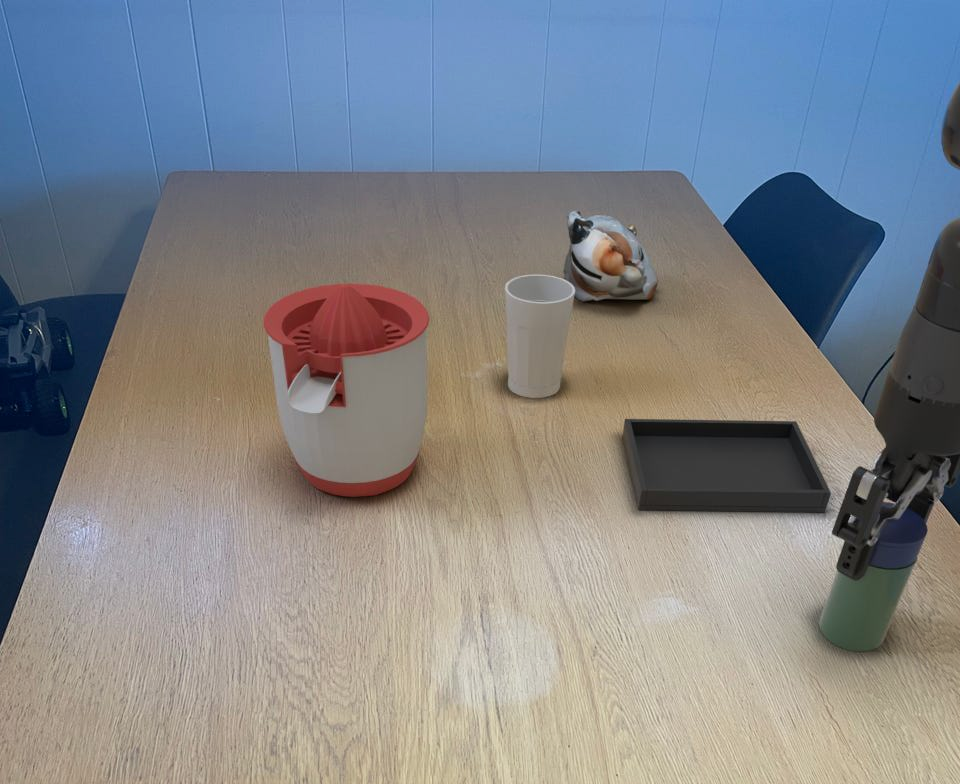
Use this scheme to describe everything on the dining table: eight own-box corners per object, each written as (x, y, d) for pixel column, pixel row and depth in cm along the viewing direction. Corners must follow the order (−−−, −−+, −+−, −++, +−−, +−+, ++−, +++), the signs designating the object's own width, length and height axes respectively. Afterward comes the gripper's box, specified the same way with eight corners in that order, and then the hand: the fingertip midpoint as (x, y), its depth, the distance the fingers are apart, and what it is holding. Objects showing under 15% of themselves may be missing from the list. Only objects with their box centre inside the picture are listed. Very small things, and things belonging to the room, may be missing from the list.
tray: (791, 439, 109) (796, 421, 107) (825, 512, 99) (831, 492, 97) (622, 437, 109) (624, 418, 107) (638, 510, 98) (641, 490, 97)
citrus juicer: (247, 501, 98) (215, 311, 84) (325, 420, 110) (308, 242, 97) (388, 535, 94) (378, 342, 81) (453, 447, 106) (453, 267, 93)
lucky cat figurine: (675, 294, 138) (684, 223, 125) (612, 344, 136) (614, 277, 123) (605, 234, 143) (606, 160, 129) (543, 282, 141) (538, 211, 128)
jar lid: (853, 567, 77) (862, 542, 75) (834, 525, 81) (843, 500, 80) (927, 569, 77) (938, 544, 75) (904, 526, 81) (914, 502, 80)
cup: (532, 408, 113) (539, 309, 105) (487, 382, 118) (490, 286, 109) (580, 387, 117) (589, 290, 109) (534, 363, 121) (540, 268, 113)
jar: (872, 609, 87) (912, 507, 80) (892, 652, 83) (937, 548, 76) (811, 609, 87) (845, 506, 80) (828, 651, 83) (866, 547, 76)
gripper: (948, 328, 75) (885, 503, 86) (843, 384, 68) (789, 566, 79) (1043, 364, 70) (963, 542, 81) (941, 427, 63) (869, 613, 74)
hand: (878, 554), depth 80 cm, fingers open, 8 cm apart
